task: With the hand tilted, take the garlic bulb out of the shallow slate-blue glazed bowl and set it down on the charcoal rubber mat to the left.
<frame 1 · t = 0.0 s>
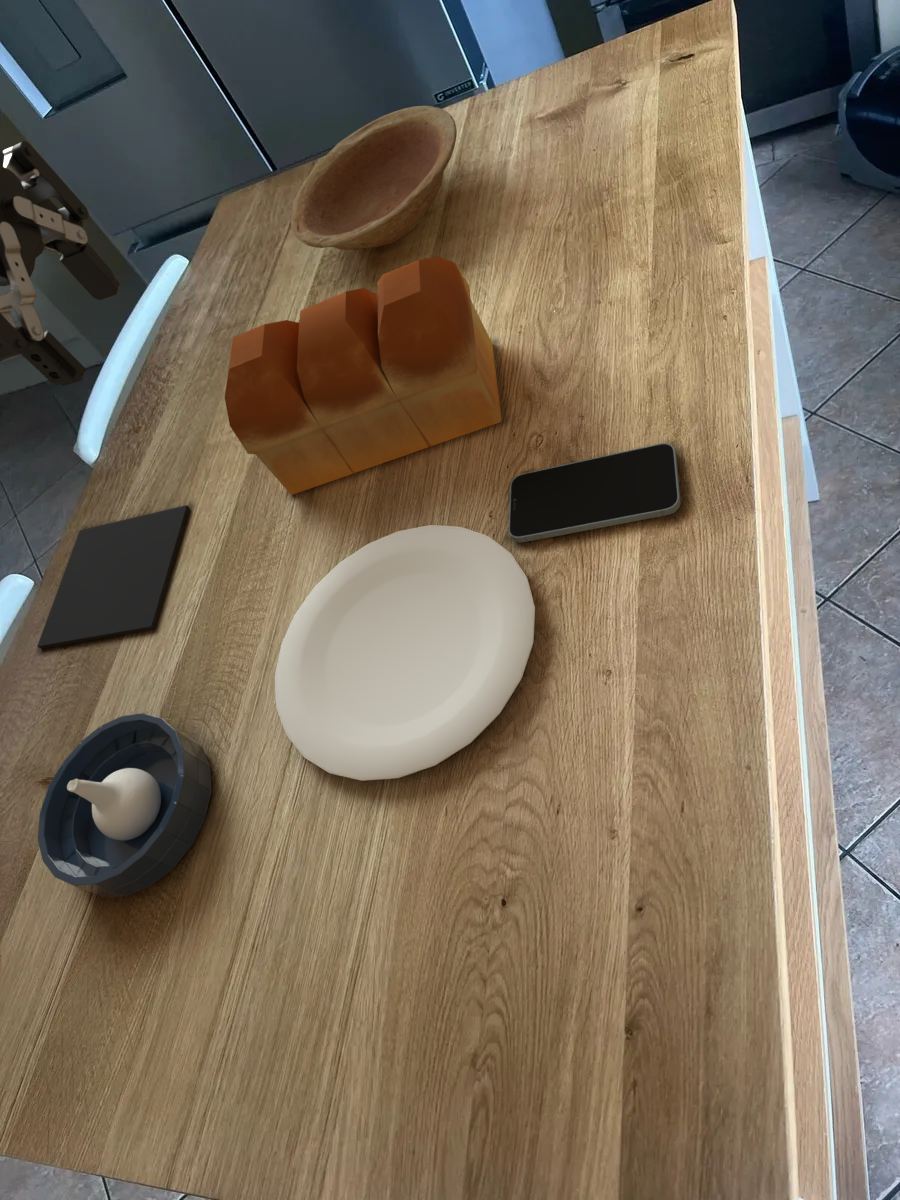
hand: (92, 335, 63), 33 cm above the table, tool pointing down, fingers open, 8 cm apart
mat: (116, 577, 101), on the table
bowl: (396, 222, 117), on the table
smartphone: (593, 498, 80), on the table
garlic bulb: (140, 810, 81), resting on glazed bowl
glazed bowl: (143, 812, 82), on the table
bread: (392, 420, 97), on the table
plate: (406, 652, 79), on the table
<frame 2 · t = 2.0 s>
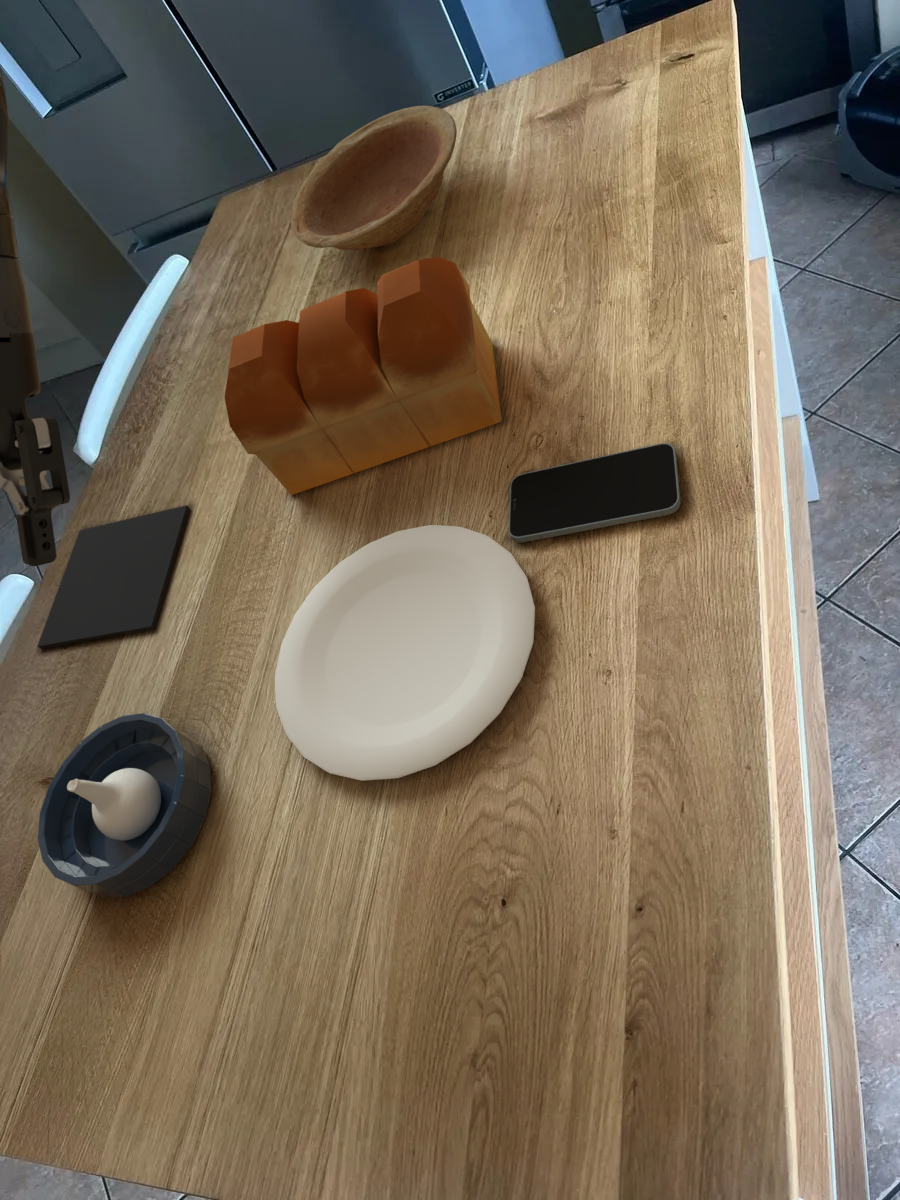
hand: (8, 555, 67), 25 cm above the table, tool tilted 45°, fingers open, 8 cm apart
nothing on the table moved.
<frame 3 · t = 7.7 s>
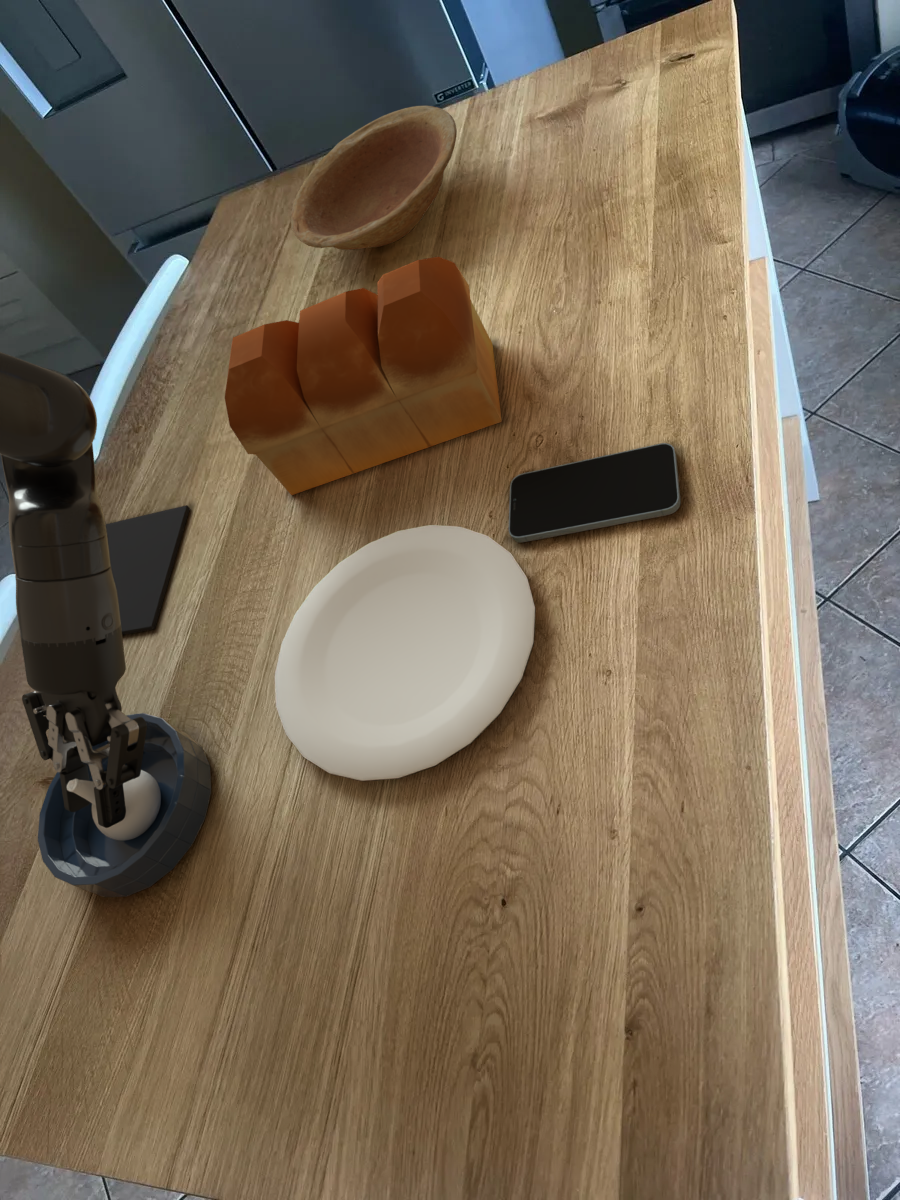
hand: (95, 814, 77), 5 cm above the table, tool tilted 45°, fingers closed on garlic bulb, 4 cm apart
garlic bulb: (140, 810, 81), resting on glazed bowl, touching gripper
everything else where it was.
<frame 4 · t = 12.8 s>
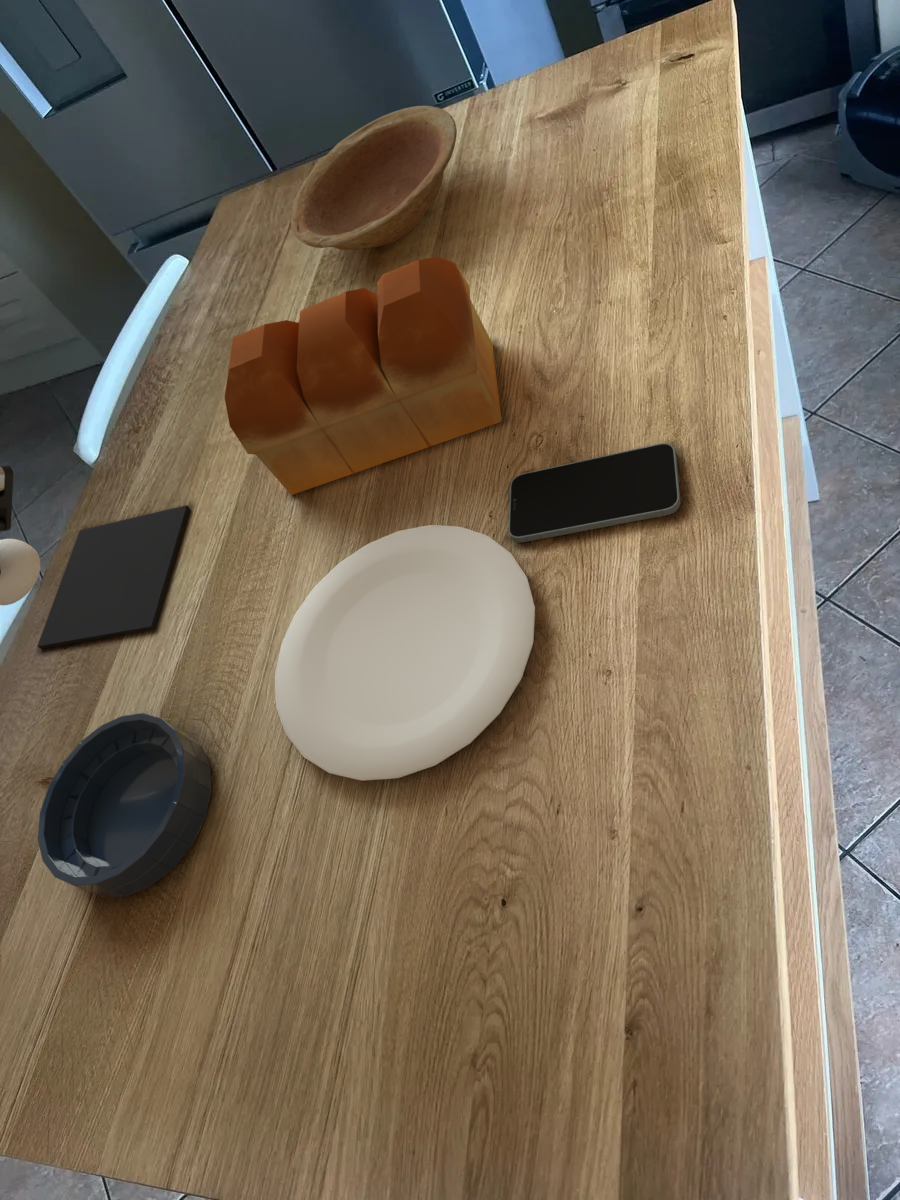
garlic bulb: (22, 582, 85), point 13 cm above the table, touching gripper
everything else where it was.
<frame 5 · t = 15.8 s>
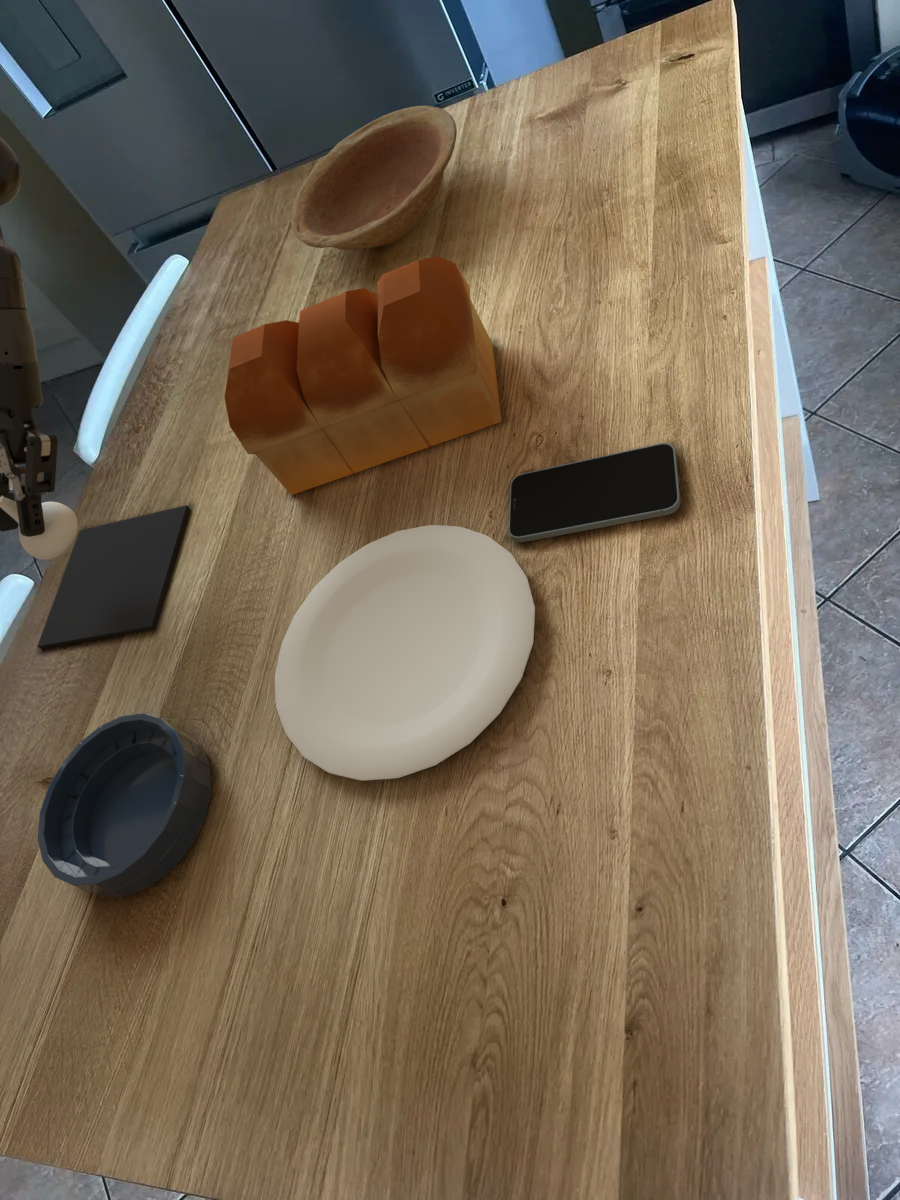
hand: (20, 531, 92), 12 cm above the table, tool tilted 45°, fingers closed on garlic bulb, 4 cm apart
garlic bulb: (61, 540, 96), point 7 cm above the table, touching gripper
everything else where it was.
when the fingers open (5 cm above the table, at t = 18.1 s): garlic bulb stays where it is, resting on mat.
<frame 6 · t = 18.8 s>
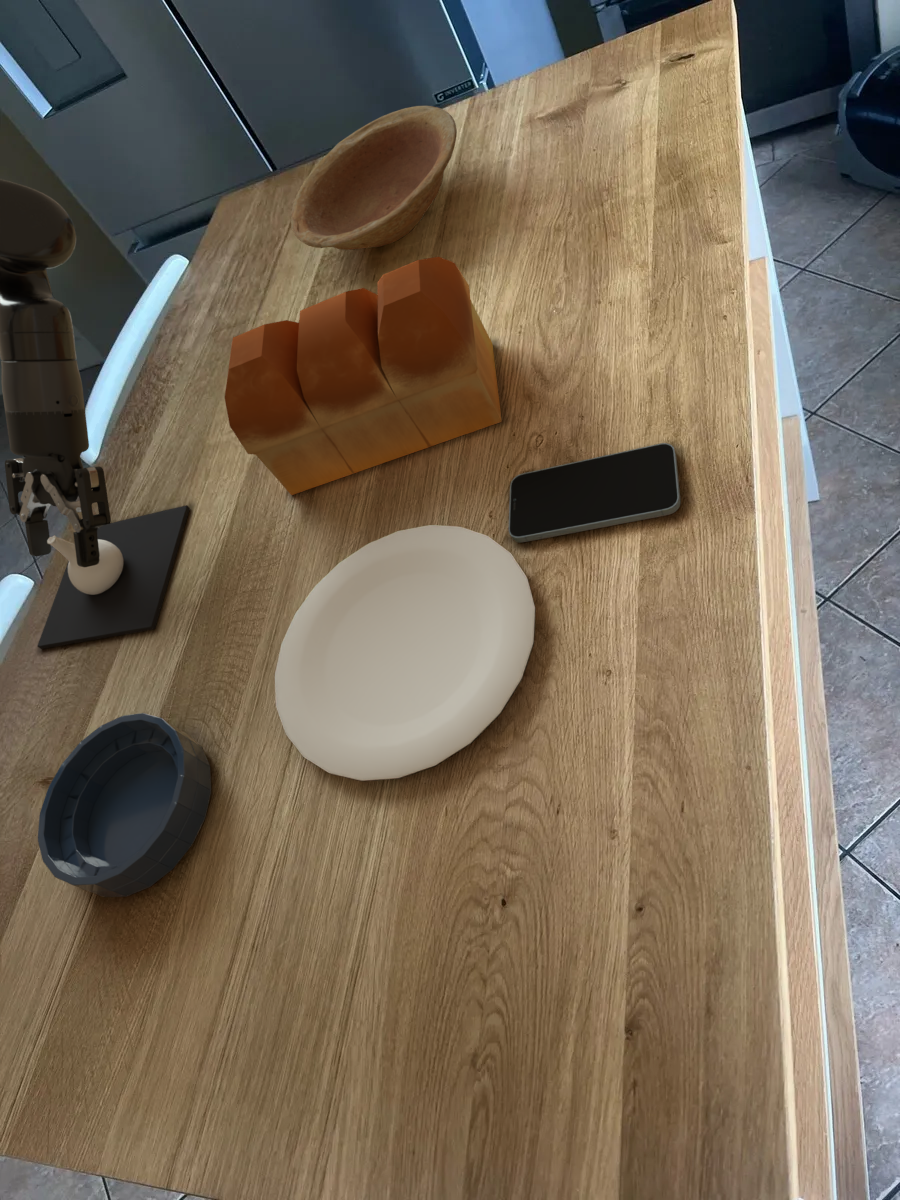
hand: (64, 560, 97), 6 cm above the table, tool tilted 45°, fingers open, 8 cm apart
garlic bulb: (107, 575, 102), resting on mat
everything else where it was.
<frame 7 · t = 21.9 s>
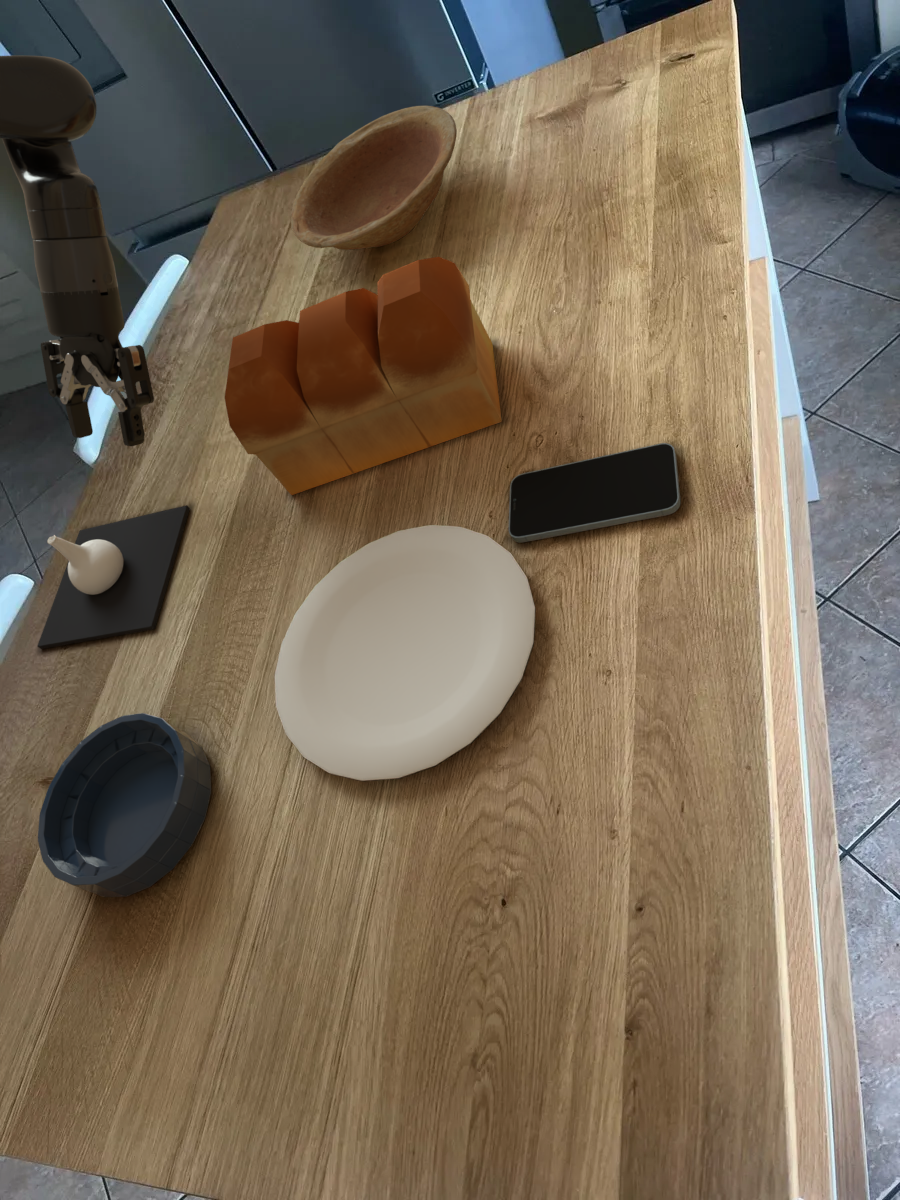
hand: (108, 440, 99), 9 cm above the table, tool tilted 40°, fingers open, 8 cm apart
nothing on the table moved.
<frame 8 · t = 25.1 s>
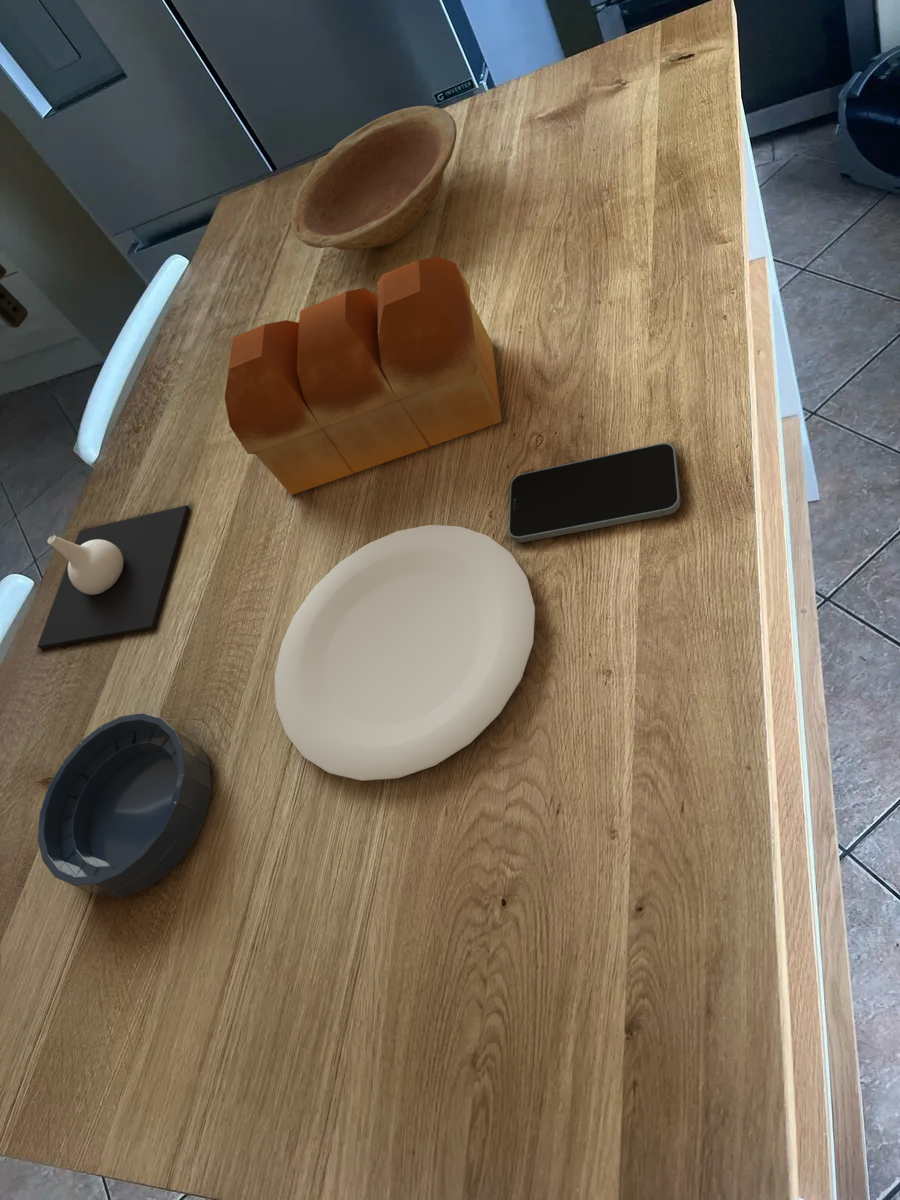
nothing on the table moved.
at the end: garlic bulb inside the target area on the mat (1.0 cm from its centre), point 0.4 cm above the mat's base; the gripper is holding nothing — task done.
